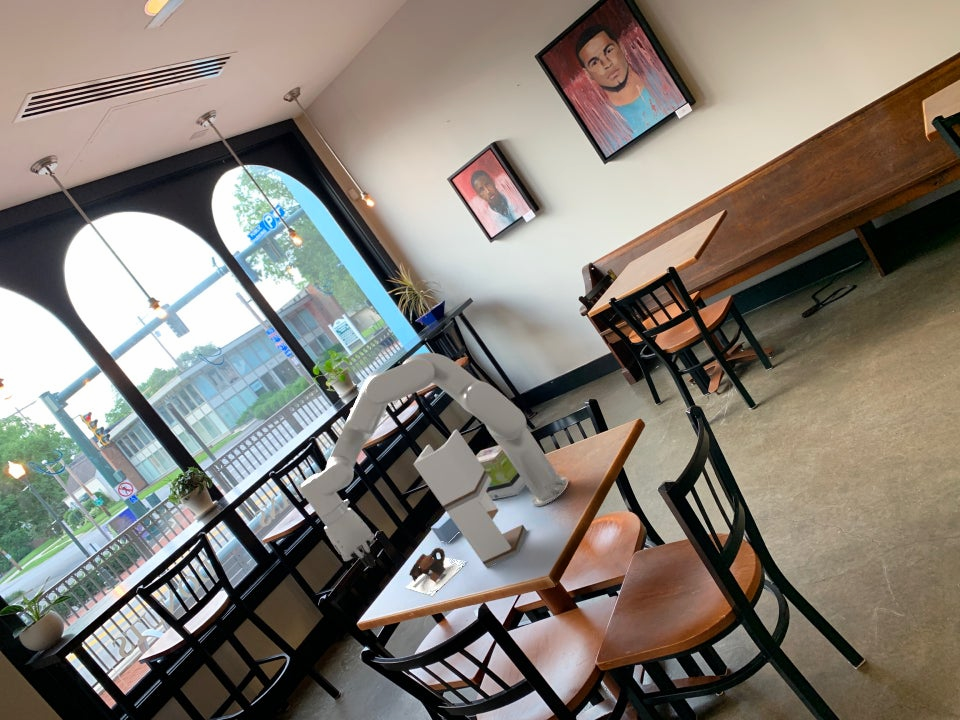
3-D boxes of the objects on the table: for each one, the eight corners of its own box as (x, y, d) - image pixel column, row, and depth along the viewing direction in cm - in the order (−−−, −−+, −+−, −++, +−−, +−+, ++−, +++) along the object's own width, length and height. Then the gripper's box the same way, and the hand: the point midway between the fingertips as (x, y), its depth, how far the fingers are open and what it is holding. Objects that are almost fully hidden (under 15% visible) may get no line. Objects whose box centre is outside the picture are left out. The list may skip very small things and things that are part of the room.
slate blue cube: (462, 530, 234) (451, 516, 233) (448, 543, 231) (438, 528, 230) (454, 530, 239) (444, 515, 238) (441, 542, 236) (430, 527, 236)
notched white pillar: (518, 553, 193) (444, 447, 188) (486, 568, 197) (413, 464, 192) (526, 530, 203) (456, 429, 198) (496, 544, 207) (426, 445, 202)
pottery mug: (430, 591, 207) (406, 574, 208) (430, 595, 215) (407, 578, 217) (454, 555, 211) (430, 539, 213) (453, 560, 220) (431, 544, 221)
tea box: (488, 502, 243) (463, 466, 241) (504, 484, 250) (480, 449, 248) (518, 495, 232) (492, 458, 230) (534, 476, 239) (509, 440, 237)
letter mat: (467, 562, 208) (467, 561, 208) (432, 596, 202) (431, 595, 202) (439, 556, 226) (438, 556, 226) (405, 587, 219) (405, 587, 219)
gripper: (351, 497, 210) (387, 547, 212) (309, 531, 203) (347, 582, 205) (359, 497, 203) (397, 549, 206) (316, 532, 196) (356, 585, 199)
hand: (372, 565), depth 206 cm, fingers closed
